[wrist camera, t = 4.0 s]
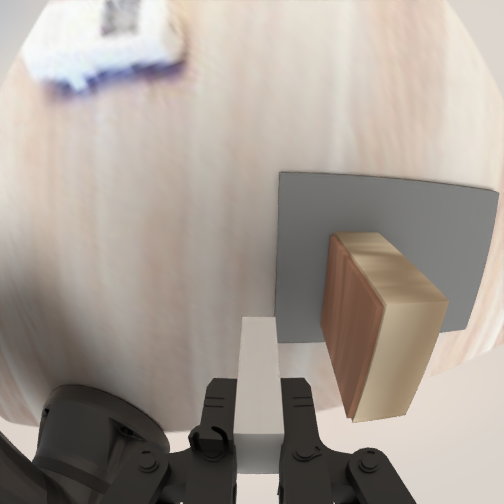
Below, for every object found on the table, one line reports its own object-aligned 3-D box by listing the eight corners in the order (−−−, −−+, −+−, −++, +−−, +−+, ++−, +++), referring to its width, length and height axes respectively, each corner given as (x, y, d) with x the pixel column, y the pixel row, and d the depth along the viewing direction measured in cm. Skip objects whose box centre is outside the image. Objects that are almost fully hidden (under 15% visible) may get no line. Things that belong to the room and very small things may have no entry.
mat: (273, 338, 23) (273, 343, 22) (279, 172, 19) (280, 173, 18) (462, 325, 23) (465, 329, 22) (494, 191, 19) (499, 192, 18)
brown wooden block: (319, 325, 22) (347, 423, 13) (329, 231, 19) (379, 304, 11) (362, 323, 22) (405, 414, 13) (378, 232, 19) (449, 300, 11)
